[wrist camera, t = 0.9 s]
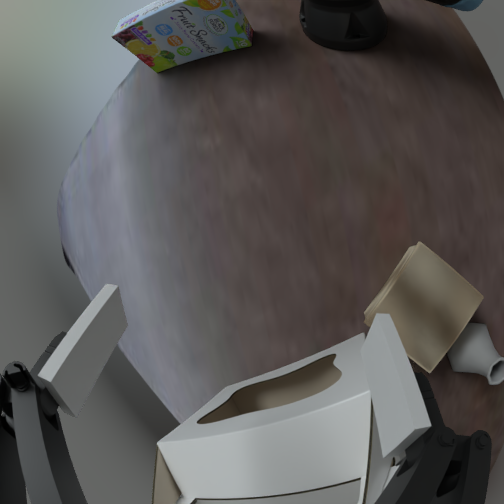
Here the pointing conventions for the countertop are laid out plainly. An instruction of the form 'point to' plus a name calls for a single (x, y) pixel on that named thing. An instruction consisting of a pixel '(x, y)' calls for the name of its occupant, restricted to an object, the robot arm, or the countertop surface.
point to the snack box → (183, 31)
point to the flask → (476, 354)
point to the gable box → (281, 439)
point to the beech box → (425, 305)
